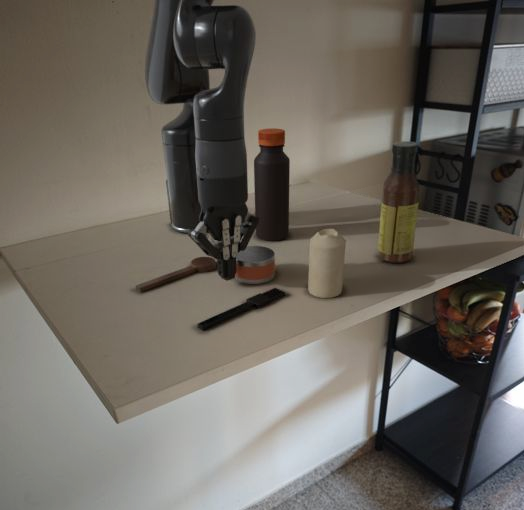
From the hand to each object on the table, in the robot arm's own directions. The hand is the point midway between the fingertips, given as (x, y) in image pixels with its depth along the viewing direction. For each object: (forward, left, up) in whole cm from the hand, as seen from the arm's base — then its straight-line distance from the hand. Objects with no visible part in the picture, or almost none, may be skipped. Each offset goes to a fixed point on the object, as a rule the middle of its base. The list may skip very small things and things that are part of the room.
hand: (227, 278), depth 83 cm
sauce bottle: (+13, +29, -2) cm, 32 cm away
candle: (+13, +10, -2) cm, 16 cm away
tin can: (0, +6, -1) cm, 6 cm away
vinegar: (-11, +21, -2) cm, 24 cm away
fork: (+8, -3, -1) cm, 9 cm away
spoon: (-9, -4, -1) cm, 10 cm away
